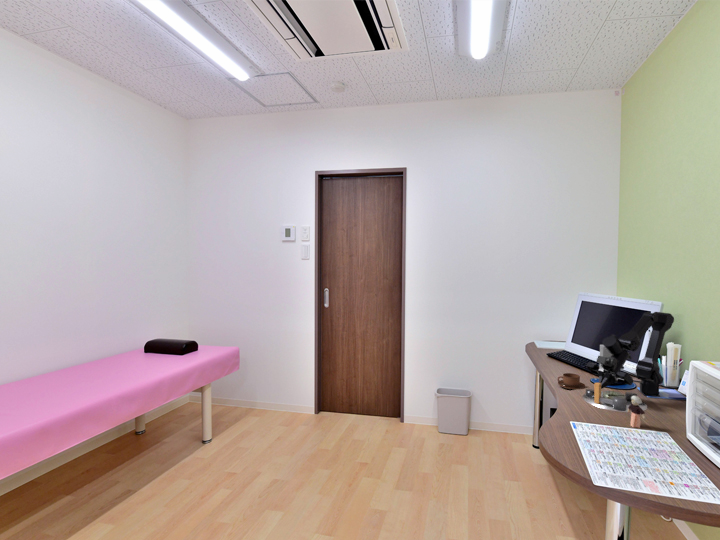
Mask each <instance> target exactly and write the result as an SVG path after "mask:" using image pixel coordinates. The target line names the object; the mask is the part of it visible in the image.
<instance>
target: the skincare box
mask: <svg viewBox="0 0 720 540" xmlns="http://www.w3.org/2000/svg"><path fill="white" fill-rule="evenodd" d="M611 355H612V354H611V353H609V352H608V350H607V349H606V348H605V347H604V345H603V344H599V356H603V357H606V358H607V357H609V358H610V357H611ZM598 366H599V367H600V368H603V367H602V366H601V364H600V363H598Z"/></svg>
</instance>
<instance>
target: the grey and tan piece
mask: <svg viewBox="0 0 720 540" xmlns="http://www.w3.org/2000/svg"><path fill="white" fill-rule="evenodd" d="M593 386H594V387H593V388H594V389H593V390H594V403H598V404H599V403H601V402H603V403H607V404H611V405H613V408H614V409H617V410H627V399H625V398H622V397H613V400H611V399H607V398H603V397H601V392H602V389H601V383H599V381H598V382H594V385H593Z"/></svg>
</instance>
